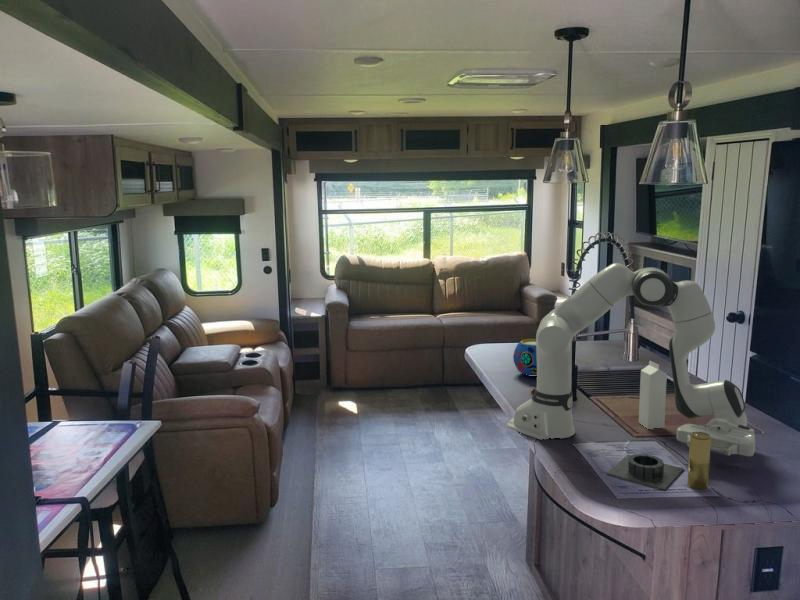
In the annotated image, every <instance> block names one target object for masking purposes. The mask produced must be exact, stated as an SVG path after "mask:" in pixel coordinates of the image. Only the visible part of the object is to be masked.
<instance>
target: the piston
mask: <svg viewBox="0 0 800 600" xmlns="http://www.w3.org/2000/svg"><path fill="white" fill-rule="evenodd" d="M710 447H711V437H710V435H709V434H707V433H704V432H692V434H691V435H690V446H689V450H688V451H689V452H688V469H687V487H688V486H689V487H688V488H690V489H692V490H695V491H707V490H708V489H709V477H710V476H709V475H710V462H711V461H710V460H711V448H710Z"/></svg>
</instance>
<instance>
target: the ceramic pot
mask: <svg viewBox="0 0 800 600" xmlns="http://www.w3.org/2000/svg"><path fill="white" fill-rule="evenodd" d="M512 358H513V363H514V366H515V367H516V369H517V371H518V372H519V373H521V374H522V373H523V374H522V375H524V374H527V375H537V355H536V338H527V339H522V340H520V341H519V342H518V343H517V344H516V346H515V348H514V352H513V356H512Z"/></svg>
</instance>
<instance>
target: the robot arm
mask: <svg viewBox="0 0 800 600" xmlns="http://www.w3.org/2000/svg"><path fill="white" fill-rule="evenodd" d="M628 296H634V297H635V299H636V300H637V301H638V302H639V303H640V304H642V305H645V306H647V307H648V306H649V307H667V308H668V310H669V313H670V316H671V319H672V321H673V322H672V323H673V326H674V332H673V333H674V334H673V336H672V337H671V338H670V340H669V345H668V350H669V360H670V367H671V372H672V373H671V374H672V379H673V386H674V400H675V401H674V402H675V407H676V410H677V412H678V413H680V414H681V415H682V416H684V417H686V418H688V419H689V420H690V419H695V418H699V417H703V416H712V415H714V416H713V417H712V418H711V419H710V420H709V422H707V423H706V425H705V426H703V425H699V424H693V423H685V424H682V425H681V426H678V428H677V429H676V440H677V441H679V442H681V443H686V446H687V447H690V435H691V434H692V432H704V433H707V434H709V435H710V437H711V447H710V449H714V450H718V451H723V455H725V456H731V455H738V456H739V455H740V456H744V457H753V456H754V454H755V448H756V435H755V429H753V428H750V427H747V424H748V417H747V413H746V412H745V409H746V405H745V399H744V396H743V394H742V391H741V390H740V388H739V387H738V386H737V385H736V384H734V383H733V382H732V381H730V380H728V379H725V380H724V379H723V380H718V381H710V382H705V383H699V384H692V383H691V382H690V381H691V380H690V375H689V368H688V362H687V361H688V359H687V358H688V356H689V354H690V353H691V352H693V351H694V350H696V349H698V348H700V347H701V346H703V345H704V344H706V343H707V342H708V341H709V340H710V339H711V338H712V337H713V335H714V333H715V330H716V322H715V318H714V315H713V312H712V309H711V306H710V304H709V301H708V299H707V296H706V295H705V293H704V291H703V290H702V288H701V287H700V285H699V283H697V282H696V281H693V280H689V279H688V280H686V279H685V280H681V281H680V280H679V281H676V282H675V281H673V280H672V279H671V278H670V276H669V275H668V274H667V273H666V272H665V271H664V270H662V269H661V268H658V267H656V266H645V267H641V268H637V269H632V270H631V269H630V268H629V267H628V266H626V265H625V264H622V263H620V262H615V263H611V264H609V265H608V266H606V267H605V268H603V269H601V270H600V271H598V272H597V273H596V274H595V275H593V276H592V277H591V278H589V280H587V281H586V282H585V283H584V284H583V285H582V286H580V287H579V288H578V289H577V290H576V291H575V292H574V293H572V294H571V295H570V296H569V297H568V298H566V299H565V300H563V302H561V303H560V304H558V305H557V306H556V307H555V308H554V309H552V310H551V311H549V313H548V314H546V315H545V316H544V317H543V318H542V319H541V320H540V323H539V325H538V328H537V330H536V333H535V334H536V335H535V339H536V355H537V377H536V387H535V388H533V389H532V390H530V391H529V396H531V398H529V399H528V400H526V401H525V402H524V403H522V404H520V405H519V406H518V407H517V408H516V409H515V412H514V416H513V417H512V418H511V419H510V420H508V421H507V423H506V428H507V429H510V430H512V431H515V432H518V433H521V434H524V435H526V436H529V437H532V438H534V439H538V440H543V439H544V440H549V438H551V439H552V440H554V438H560V439H565V438H567V439H568V438H571V437H572V436H574V435H575V434H576V430H575V426H574V422H573V421H574V420H573V414H572V413H573V412H572V408H573V390H572V368H573V367H572V363H573V362H572V358H573V357H572V356H573V353H572V350H573V347H572V346H573V338H574V337H575V336H576V335H577V334H579V333H580V332H582V331H584V330H585V329H586V328H588V327H589V326H591V325H592V324H594V323H595V322H596V321H598V320H599V319H600V318H601V317H603V315H605V314H606V313H607V312H609V310H610V309H612V308H613V307H614V306H616V304H618V303H619V302H620V301H621V300H623V299H624V298H626V297H628Z"/></svg>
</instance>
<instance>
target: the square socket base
mask: <svg viewBox="0 0 800 600" xmlns="http://www.w3.org/2000/svg"><path fill="white" fill-rule="evenodd" d="M683 471H685V470H684V468H683V467H679V466H675V465H672V464H667V463H664V461H663V459H662V458H660V457H657V456H655V455H652V454H646V453H635V454H627V455H625V456H624V457H623V458H622V459H621V460H620V461H619V462H617V463H615V465H614V466H613V467H612V468H611V469H609V470H608V471H607V472H606V475H607V476H609V475H610V476H609V477H613V478H617V479H621V480H625V481H628V482H632V483H635V482H636V484H638V483H639V484H640V485H642V484H643V485H642V486H646V487H649V486H650V488H654V489H657V488H658V489H657V490H661V491H664V492H665V491H666V490H667V489H668V488H669V487H670V485H672V483H673V482H674V481H675V480H677V478H678V477H679V476H680V475H681V474H682V472H683Z"/></svg>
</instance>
